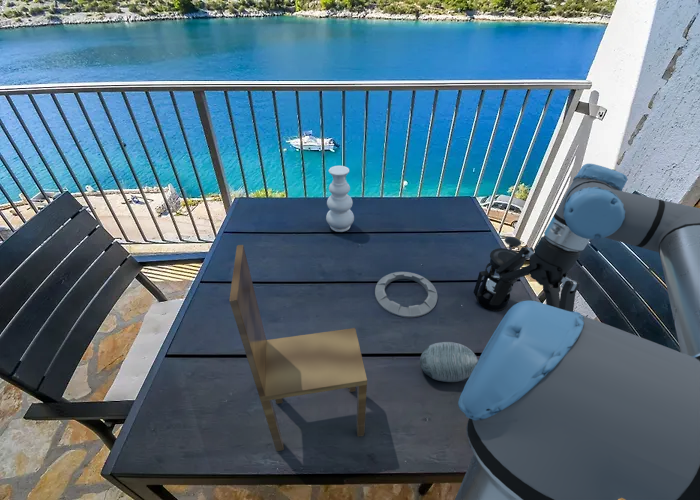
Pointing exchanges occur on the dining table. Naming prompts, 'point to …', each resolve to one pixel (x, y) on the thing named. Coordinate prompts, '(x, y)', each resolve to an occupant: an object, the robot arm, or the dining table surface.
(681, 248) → the robot arm
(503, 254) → the french press
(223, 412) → the dining table surface
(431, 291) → the ring
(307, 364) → the wooden chair
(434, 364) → the grey streaked ellipsoid
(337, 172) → the vase
